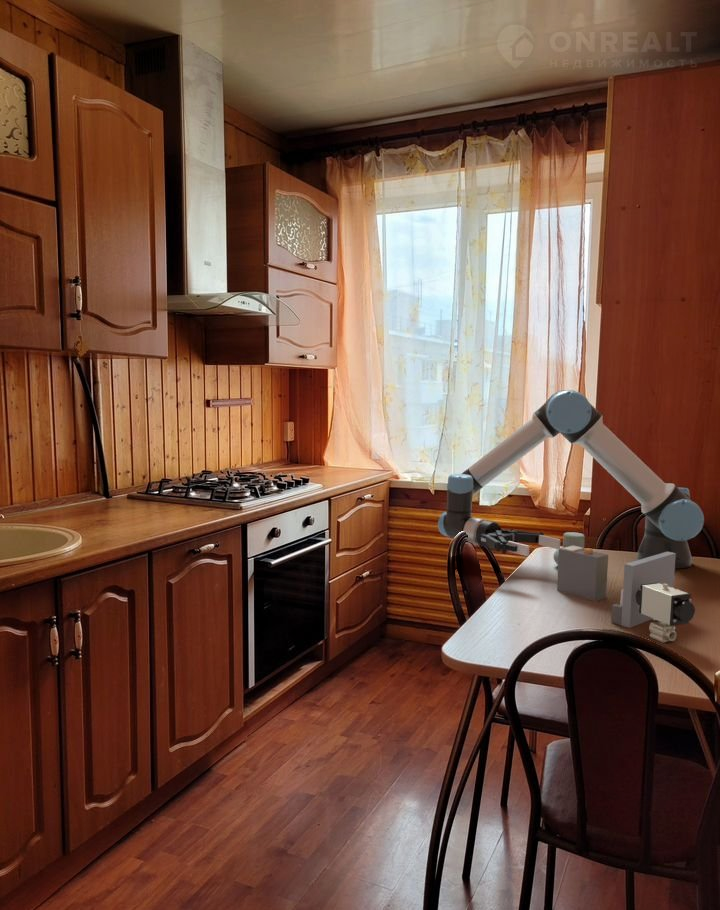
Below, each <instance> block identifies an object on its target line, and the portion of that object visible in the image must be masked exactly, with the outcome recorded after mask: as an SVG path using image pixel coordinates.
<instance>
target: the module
mask: <svg viewBox="0 0 720 910" xmlns="http://www.w3.org/2000/svg"><path fill="white" fill-rule="evenodd" d="M560 548H561V547H560ZM608 564H609V554H608V553H602V552H598V551H594V549H593V548H590V547H587V548H584V549H583V548H582V547H577V546H569V547H565V548H561V549H559V559H558V564H557V565H558V566H557V586H556V590H557V591H558V592H561V593H565V594H569V595H571V596H572V595H573V596H576V597H579V598H582V599H586V600H591V601H594V602H596V601H599V600H602V599H606V598H607V589H608V588H607V587H608V569H609V567H608V566H609V565H608Z"/></svg>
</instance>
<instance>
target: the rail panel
mask: <svg viewBox="0 0 720 910" xmlns="http://www.w3.org/2000/svg"><path fill="white" fill-rule="evenodd" d="M675 556H676V553H672V552H664V553H661V554H657V555H654V556H650V557H647V558H644V559H640V560H637V559H636V560H634V561H630V562H626V563H625V564H624V566H623V568H624V570H623V587H622V588H623V589H621V590H620V599H619V600H620V603H619V604H617V603H613V604H612V605H611V614H610V615H611V616H610V617H611V620H610V623H612V624H615V625H618V626H622V627H625V628H629V629H630V628H634V627H636V626H638V625H640V624H643V623H646V622H648V621H650V620H653V618H651V617H648V616H646V615H643V614H641V613H639V605H638V604H637V602H636V599H635V596H636V592H637V591H638V589H639V588H640V586H641V585H642V584H650V583H659V584H662V585H663V584H668V587H671V588H672V587H673V588H675V587H674V584H675V571H676V568H675Z"/></svg>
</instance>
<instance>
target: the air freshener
mask: <svg viewBox="0 0 720 910" xmlns="http://www.w3.org/2000/svg"><path fill="white" fill-rule="evenodd" d="M585 538H586V537H585V534H584V533H580V532H576V531H575V532H574V531H572V532H571V531H570V532H569V531H568V532H567V531H566V532H564V533H563V537H562V547H561V546H560V549H561V548H565V547H569V546H577V547H582V548H583V549H585ZM558 559H559V549H555V552H554V553H553V561H554V562H555V563H556V564H557V565H558Z"/></svg>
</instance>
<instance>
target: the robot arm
mask: <svg viewBox="0 0 720 910" xmlns="http://www.w3.org/2000/svg"><path fill="white" fill-rule="evenodd" d="M603 421H604V420H603V415H602V413H601V412H600V411H599V410H598V409H597V408H595V406H593V405H592V404H591V403H590V401H589V400H588V398H587V397H586V396H585V395H584V394H582V393H581V392H578V391H576V390H573V389H565V390H559V391H556V392H555V393H554V394H552V395H551V396H550V397H549V398H548V399H547V400H546V401H545V402H544V404H542V406H540V407H539V408H538V409H537V410H535V411H534V412H533V413H532V418H531V419H529V420H527V422H526V423H524V424H523V425H522V426H521V427H519V428H518V429H516V430H515V431H513V433H511V434H510V435H509V436H508V437H506V438H505V439H504V440H503V441H501V442H499V444H497V445H496V446H495V447H494V448H492V449H491V450H489V451H488V452H487V453H486V454H484V455H483V456H481V458H479V459H478V460H477V461H476V462H474V463H473V464H472V465H471V466H469V467H468V468H467V469H466V470H464V471H463V472H462V473H453V474H452V473H451V474H449V476H448V477H447V483H446V484H447V485H446V511H445V512H443V513H441V514H440V516H439V519H438V522H437V528H438V531H439V533H440V534H441V535H443V536H445V537H448V538H450V539H452V540H453V539H454V537H455V536H456V535H457V534H458V533H459V532H461V531H465V532H466V534H467V535H468V539H467V541H468V542H467V543H469V544H471V543H472V545H473V546H481V547H486V548H489V549H492V550H493V551H496V552H501V554H503V555H505V554H507V553H508V552H509V553H513V554H517V555H521V556H525V557H529V556H530V547H531V546H530V545H527V544H538V545H539V546H542V547H548V548H551V549H555V550H557V549H560V548H561V538H557V537H552V536H549V535H545V533H543V532H542V531H539V532H534V531H526V530H517V529H514V528H511V529H506V528H505V529H502V528H501V526H500V524H499V523H498V522H495V521H490V520H486V519H483V518H478V517H472V511H473V509H472V508H473V496H474V495H475V494H477V493H478V492H479V491H480V490H481V489H482V488H484V487H486V485H488V484H490V483H491V482H492V481H493V480H494V479H496V478H497V477H498V476H499V475H501V474H502V473H503V472H505V471H506V470H507V469H509V468H510V467H511V466H513V465H514V464H516V463H517V462H518V461H519V460H521V459H522V458H523V457H524V456H526V455H527V454H528V453H529V452H531V451H533V449H535V448H536V447H538V446H539V445H540V444H541V443H543V442H544V441H546V440H547V439H549V438H552V439H553V438H555V437H556V436H558V435H559V434H560V435H562V436H563V437H564V438H565V439H566V440H567V442H569V443H570V444H571V445H579V446H581V447H582V448H583V449H584V450H585V451H586V452H587V453H588V454H589V455H590V456H591V457H592V458H593V459H594V460H595V461H596V462H597V463H598V464H599V465H601V466H602V468H603V469H605V470H606V471H607V473H608V474H610V475H611V476H612V477H613V478H614V479H615V480H616V481H617V482H618V483H619V484H620V485H621V486H622V487H623V488H624V489H625V490H626V491H627V492H628V493H629V494H630V495H631V496H632V497H634V499H635V500H637V501H638V502H639V503H640V505H641V506H640V507H641V508H640V509H641V510H640V511H641V513H642V514H643V515H644V516H645V521H644V534H643V537H642V540H641V542H640V545H639V548H638V550H637V553H636V554H637V555H636V561H637V560H640V559H644V558H647V557H650V556H654V555H657V554H661V553H664V552H672V553H676V556H675V569H686V568H689V567H691V566H692V563H693V562H692V559H693V558H692V554H691V551H690V547H689V543H688V540H691V539H693V538H695V537H696V536H697V535H699V533H700V532H701V531H702V529H703V526H704V525H705V524H704V523H705V516H704V513H703V511H702V509H701V507H700V506H699V504H697V503H696V502H694V501H693V500H691V499H690V498H691V495H690V489H689V488H688V487H678V486H676V484H674V483H669V482H668V483H666V482H664V481H663V479H661V478H660V476H658V475H657V474H656V473H655V472H654V471H653V470H652V469H651V468H650V467H649V466H647V465H646V464H645V462H644V461H642V459H640V458H639V457H638V455H636V453H634V452H633V451H632V450H631V449H630V448H629V447H628V446H627V445H626V444H625V443H624V442H623V441H621V439H619V438H618V437H617V436H616V435H615V434H614V433H613V431H611V430H610V428H608V426H606V425H605V424H604V422H603ZM454 540H455V539H454ZM523 543H527V544H523Z"/></svg>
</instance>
